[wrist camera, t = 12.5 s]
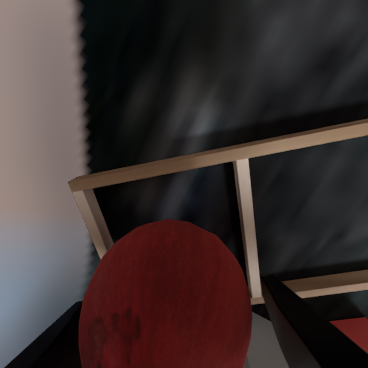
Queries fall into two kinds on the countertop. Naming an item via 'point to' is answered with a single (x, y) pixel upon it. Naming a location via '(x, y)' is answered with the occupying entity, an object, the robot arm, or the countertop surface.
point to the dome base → (270, 349)
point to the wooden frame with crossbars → (239, 156)
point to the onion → (166, 302)
